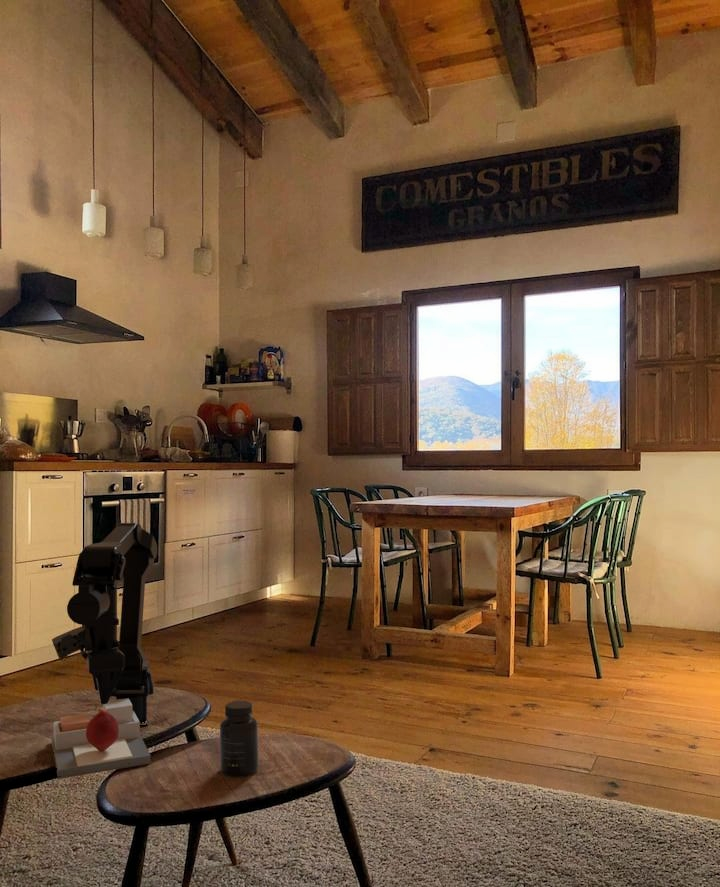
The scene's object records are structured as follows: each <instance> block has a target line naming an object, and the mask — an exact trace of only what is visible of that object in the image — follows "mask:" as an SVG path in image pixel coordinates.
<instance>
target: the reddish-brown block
mask: <svg viewBox="0 0 720 887" xmlns="http://www.w3.org/2000/svg"><path fill="white" fill-rule="evenodd" d="M89 717H90V716H89V714H88V713H80V714H74V715H68V716H67V715H66V716H61V717H60V718H59V721H60V732H65V731H72V730H79V729H86V728H87V726H88V723H89V722H90V720H89Z"/></svg>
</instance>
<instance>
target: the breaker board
mask: <svg viewBox="0 0 720 887" xmlns="http://www.w3.org/2000/svg"><path fill="white" fill-rule="evenodd" d="M88 717H89V720H91V719H92V718H93V717H94V716H88ZM52 726H53V727H52V728H53V734H51V737H50V738H51V742H52V743H51V742H50V743H51V747H53V749H52V752H54V754H53V758H54V757H55V759H54V763H55V762H56V765H55V768H57V770H56V775H57V779H58V780H59V779H60V780H61V779H65V778H72V777H77V776H84V775H90V774H96V773H101V772H103V773H104V772H107V771H115V770H120V769H121V770H122V769H126V768H132V767H138V766H144V765H150V764H151V757H152V756H151V753H150V751H149V750H148V748H147V746H146V744H145V742H144V740H143V738H142V735H141V734H140V733H141V732H140V731H141V726H140V722H139V720H138V718H137V716H136V714H135V712H134V711H132V722H128V723H121V724H118V727H119V734H118V737H117V739H116V741H115V742H114V743H113V744H112V745H111V746H110V747H108V748H107V749H106V750H105V751H103V752H101V751H98V750H97V749H96V748H95V747H94V746H92V745H91V744H90V743H89V742H88V740H87V738H86V729H87V728H86V729H79V730H72V731H65V732H60V720H58V721H57V720H56V721H53V725H52ZM129 763H130V764H129ZM59 776H60V777H59Z"/></svg>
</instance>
